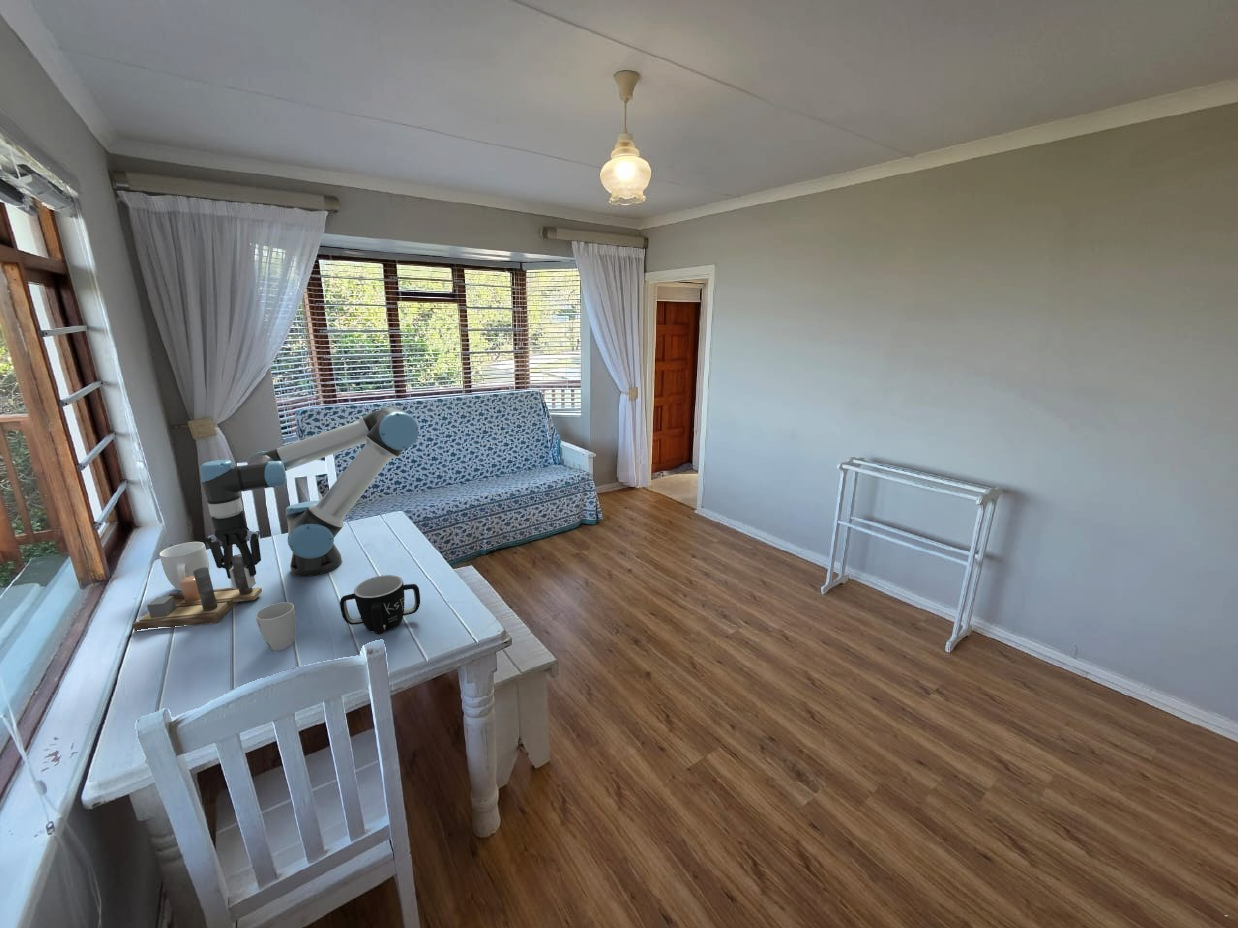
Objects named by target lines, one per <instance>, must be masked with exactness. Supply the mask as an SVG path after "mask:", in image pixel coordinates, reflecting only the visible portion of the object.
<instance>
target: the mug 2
mask: <svg viewBox="0 0 1238 928" xmlns="http://www.w3.org/2000/svg"><path fill="white" fill-rule="evenodd" d="M409 590H413V596H414V604H413V606H412V607H410V608H406V609H405V591H409ZM351 600H355V604H356V608H357V610H358V614H359V616H360V617H357V618H353V617H351V615H350V613H349V610H348V605H347V601H351ZM420 606H421V593H420V589H419V586H418V585H417V583H407V584H405V583H404V579H403V578H402V577H400V576H397V575H392V574H385V575H379V576H374V577H371V578H367V579H366V580H363V581H362V582H360V583H359V584H357V585H356V586H355V587H354V589H353V593H349V594H345V595H343V596H342V597H341V598H340V600H339V607H340V612H341V615H342V616H341V617H342V618H343V619H344V622H346V623H347V624H348V625H350V626H351V625H352V626H354V625H362V624H363V625H364V626H365V629H367V631H369V632H372V633H375V634H376V635H382V634H384V633H385V632H388V631H390V630H393V629H395V628H397V627H398V626H399V625H400V624H401V623H402V621H403V619H404V617H405V616H409V615H413V614H415V613H416V612H418V610H419V609H420Z"/></svg>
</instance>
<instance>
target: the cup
mask: <svg viewBox="0 0 1238 928" xmlns="http://www.w3.org/2000/svg"><path fill="white" fill-rule="evenodd" d="M295 612H296V611H295V605H294V603H292V602H288V601H286V602H285V601H282V602H276V603H273V604H270V605H267V606H265V607H263V608H261V609H260V610H258V611H257V613H256V614H255V619H256V622H257V625H258V628H259V631H260V633H261V635H262V637H263V640H264V641H265V643H266V644H267V645H268V647H269V649H271V650H272V651H274V652H275V651H277V652H278V651H282V650H286V649H287V648H289V647H291V646H292V645H293V644H294V643H295V642H294V641H295V636H296V625H297V624H296V613H295Z"/></svg>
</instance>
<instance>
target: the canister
mask: <svg viewBox="0 0 1238 928" xmlns="http://www.w3.org/2000/svg"><path fill="white" fill-rule="evenodd" d="M180 586H181V590H182V591H181V593H183V597H184V600H185V602H193V601H197V600H200V596H199V592H198V588H197V584H196V581H195V577H194V576H190V577H187V578H184V579H182V580H181V581H180Z"/></svg>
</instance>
